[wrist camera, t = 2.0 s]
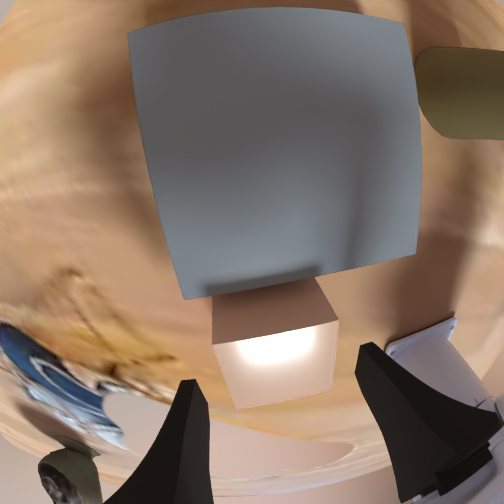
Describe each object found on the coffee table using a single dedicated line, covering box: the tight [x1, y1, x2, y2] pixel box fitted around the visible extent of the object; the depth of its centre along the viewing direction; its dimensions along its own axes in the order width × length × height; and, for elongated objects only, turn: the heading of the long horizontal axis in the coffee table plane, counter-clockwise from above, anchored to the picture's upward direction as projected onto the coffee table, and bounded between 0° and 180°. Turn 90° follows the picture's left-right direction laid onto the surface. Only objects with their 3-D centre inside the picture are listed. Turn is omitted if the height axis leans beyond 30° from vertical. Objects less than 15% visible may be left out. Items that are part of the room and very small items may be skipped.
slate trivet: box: [128, 7, 422, 300], centre depth 10 cm, size 11×11×3 cm
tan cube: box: [212, 277, 339, 409], centre depth 13 cm, size 5×5×5 cm
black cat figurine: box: [38, 436, 103, 504], centre depth 19 cm, size 10×12×10 cm
